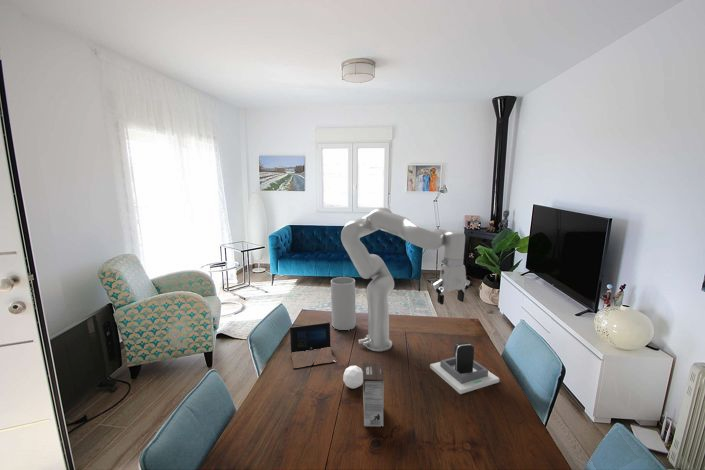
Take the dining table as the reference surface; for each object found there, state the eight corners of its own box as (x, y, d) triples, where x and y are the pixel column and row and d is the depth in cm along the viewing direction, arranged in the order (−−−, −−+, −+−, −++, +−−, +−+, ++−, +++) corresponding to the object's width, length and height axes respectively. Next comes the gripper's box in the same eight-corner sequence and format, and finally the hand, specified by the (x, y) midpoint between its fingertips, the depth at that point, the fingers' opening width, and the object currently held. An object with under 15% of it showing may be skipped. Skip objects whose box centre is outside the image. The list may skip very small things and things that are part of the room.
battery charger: (468, 367, 127) (469, 340, 125) (473, 372, 123) (475, 345, 122) (452, 369, 126) (453, 342, 124) (456, 374, 122) (457, 346, 120)
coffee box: (363, 406, 108) (362, 362, 105) (382, 406, 108) (382, 362, 105) (363, 426, 99) (362, 378, 96) (384, 427, 99) (384, 379, 96)
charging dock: (460, 394, 113) (460, 383, 113) (430, 367, 130) (430, 358, 129) (499, 382, 120) (499, 372, 119) (465, 358, 136) (466, 349, 136)
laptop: (293, 370, 130) (291, 340, 128) (290, 354, 142) (289, 327, 140) (336, 363, 135) (335, 334, 133) (330, 348, 147) (329, 321, 144)
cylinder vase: (360, 325, 169) (360, 280, 165) (344, 334, 160) (342, 286, 156) (343, 319, 178) (342, 275, 174) (327, 326, 169) (325, 281, 165)
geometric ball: (349, 395, 118) (335, 380, 116) (355, 376, 124) (343, 362, 123) (364, 391, 114) (350, 377, 112) (370, 373, 120) (357, 358, 118)
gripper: (440, 265, 123) (437, 308, 125) (477, 262, 128) (473, 303, 131) (429, 261, 130) (427, 301, 132) (465, 258, 135) (462, 296, 138)
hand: (450, 302), depth 132 cm, fingers open, 9 cm apart
